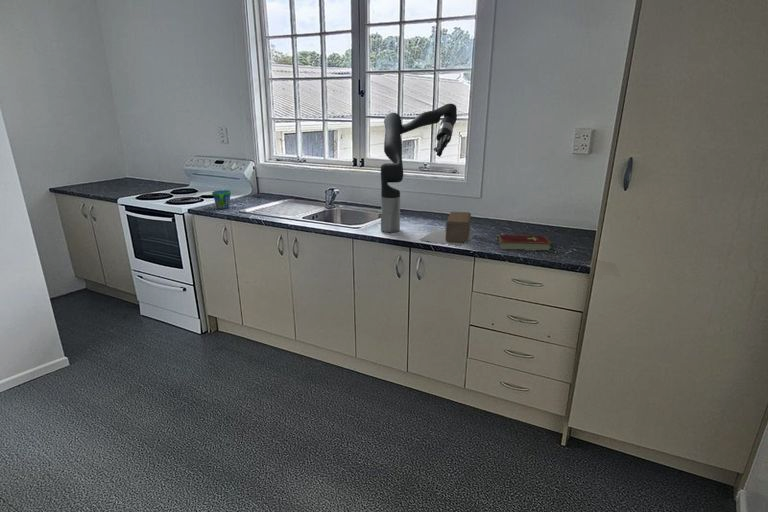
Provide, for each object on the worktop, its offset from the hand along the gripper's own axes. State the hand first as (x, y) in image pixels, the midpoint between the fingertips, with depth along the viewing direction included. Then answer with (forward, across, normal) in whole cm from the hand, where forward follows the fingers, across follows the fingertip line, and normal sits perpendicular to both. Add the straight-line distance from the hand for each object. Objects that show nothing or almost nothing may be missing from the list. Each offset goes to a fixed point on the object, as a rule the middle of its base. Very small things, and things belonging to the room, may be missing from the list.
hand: (438, 155), depth 227 cm
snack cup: (+21, -107, -82) cm, 136 cm away
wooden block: (+26, -5, +23) cm, 35 cm away
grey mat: (+39, -6, +18) cm, 44 cm away
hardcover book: (+42, +17, +44) cm, 63 cm away
